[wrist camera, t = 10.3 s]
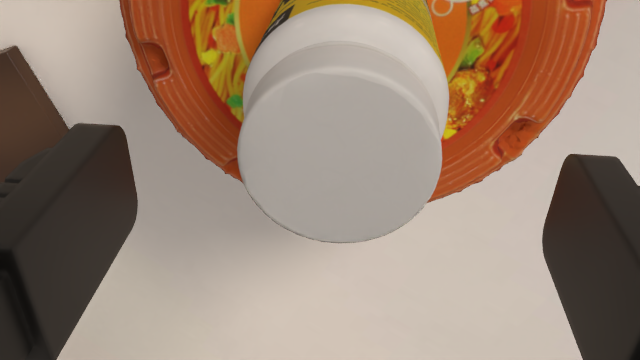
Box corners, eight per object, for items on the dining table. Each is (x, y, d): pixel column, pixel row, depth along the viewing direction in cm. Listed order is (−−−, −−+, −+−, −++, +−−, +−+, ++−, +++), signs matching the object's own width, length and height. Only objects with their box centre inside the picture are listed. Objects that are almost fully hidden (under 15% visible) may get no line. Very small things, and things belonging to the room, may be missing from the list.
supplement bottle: (290, -69, 16) (228, 17, 9) (448, -37, 17) (503, 72, 10) (270, 81, 19) (208, 237, 12) (406, 108, 19) (425, 278, 12)
